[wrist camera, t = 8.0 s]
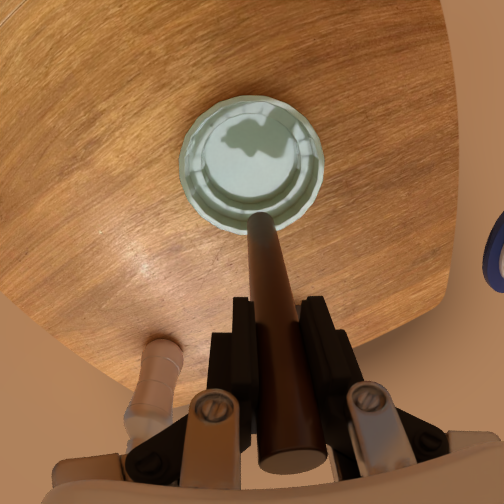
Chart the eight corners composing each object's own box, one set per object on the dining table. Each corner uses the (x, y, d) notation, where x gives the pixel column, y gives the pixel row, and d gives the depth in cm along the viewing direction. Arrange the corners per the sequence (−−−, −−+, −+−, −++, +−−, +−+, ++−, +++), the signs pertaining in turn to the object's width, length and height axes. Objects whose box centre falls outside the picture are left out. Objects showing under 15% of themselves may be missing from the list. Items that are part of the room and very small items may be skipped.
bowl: (315, 100, 32) (328, 100, 27) (308, 217, 38) (317, 236, 33) (187, 97, 31) (177, 97, 26) (190, 216, 38) (182, 235, 33)
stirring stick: (274, 211, 21) (335, 444, 6) (273, 236, 21) (321, 472, 7) (247, 211, 20) (259, 451, 6) (246, 236, 21) (257, 477, 7)
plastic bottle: (137, 342, 47) (103, 448, 29) (168, 327, 45) (139, 442, 28) (163, 367, 49) (140, 470, 32) (194, 353, 48) (178, 465, 30)
